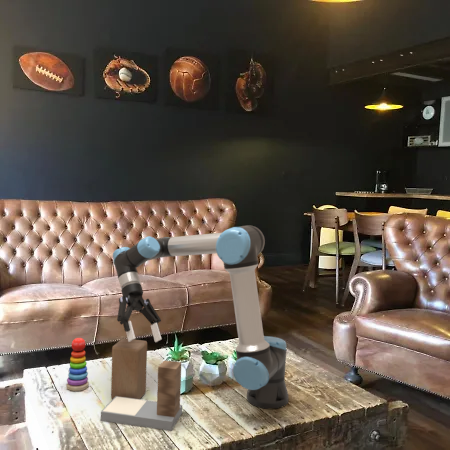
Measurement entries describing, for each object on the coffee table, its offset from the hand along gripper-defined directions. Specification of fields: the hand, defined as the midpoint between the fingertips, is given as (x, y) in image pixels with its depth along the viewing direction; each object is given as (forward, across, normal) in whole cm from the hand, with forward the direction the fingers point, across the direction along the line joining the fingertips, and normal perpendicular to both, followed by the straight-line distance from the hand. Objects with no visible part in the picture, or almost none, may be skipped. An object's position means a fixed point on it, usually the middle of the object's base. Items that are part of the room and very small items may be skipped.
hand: (145, 340), depth 177 cm
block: (+14, -4, -18) cm, 23 cm away
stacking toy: (+4, +3, -35) cm, 35 cm away
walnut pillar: (+26, +1, +2) cm, 26 cm away
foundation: (+24, +4, -7) cm, 25 cm away
